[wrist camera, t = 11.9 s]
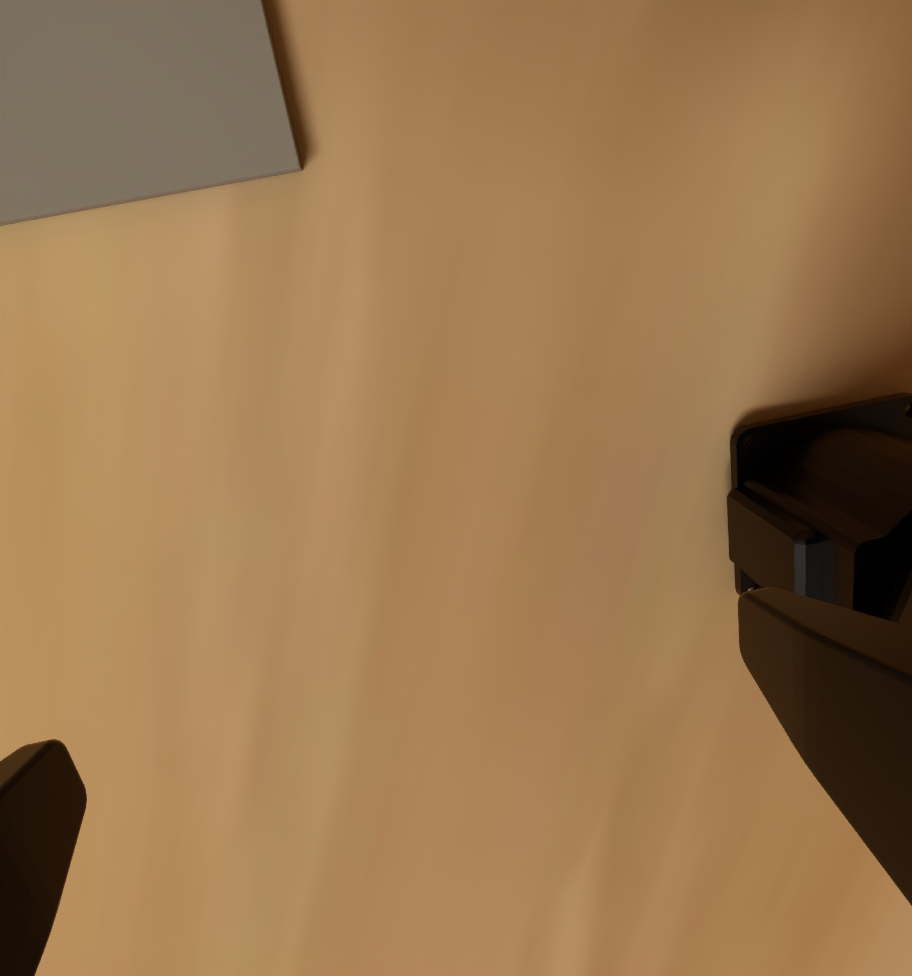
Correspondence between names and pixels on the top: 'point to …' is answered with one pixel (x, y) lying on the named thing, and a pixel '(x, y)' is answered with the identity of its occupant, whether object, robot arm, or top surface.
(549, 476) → the top surface
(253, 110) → the mat
